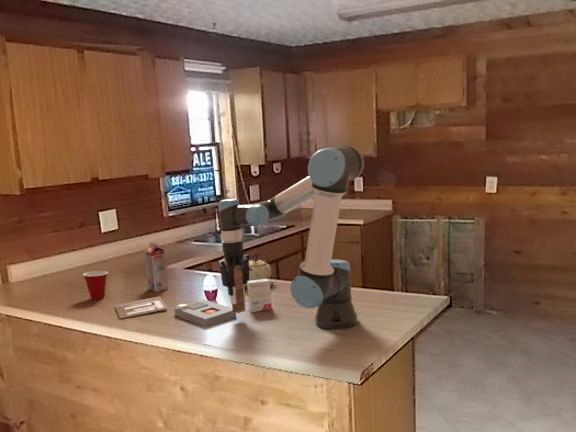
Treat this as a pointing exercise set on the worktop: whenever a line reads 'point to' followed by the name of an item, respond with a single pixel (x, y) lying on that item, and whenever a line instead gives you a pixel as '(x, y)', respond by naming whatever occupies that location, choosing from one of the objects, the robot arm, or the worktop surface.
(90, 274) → the plastic cup
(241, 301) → the walnut rod
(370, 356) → the worktop surface
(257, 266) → the sugar bowl
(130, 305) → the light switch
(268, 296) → the ink box
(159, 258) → the juice carton
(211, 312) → the orange ball button
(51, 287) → the worktop surface
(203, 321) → the grey flat block
